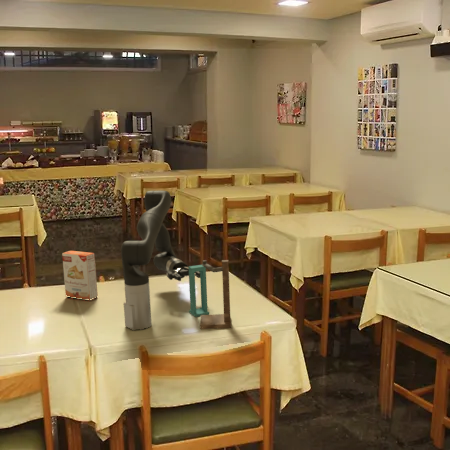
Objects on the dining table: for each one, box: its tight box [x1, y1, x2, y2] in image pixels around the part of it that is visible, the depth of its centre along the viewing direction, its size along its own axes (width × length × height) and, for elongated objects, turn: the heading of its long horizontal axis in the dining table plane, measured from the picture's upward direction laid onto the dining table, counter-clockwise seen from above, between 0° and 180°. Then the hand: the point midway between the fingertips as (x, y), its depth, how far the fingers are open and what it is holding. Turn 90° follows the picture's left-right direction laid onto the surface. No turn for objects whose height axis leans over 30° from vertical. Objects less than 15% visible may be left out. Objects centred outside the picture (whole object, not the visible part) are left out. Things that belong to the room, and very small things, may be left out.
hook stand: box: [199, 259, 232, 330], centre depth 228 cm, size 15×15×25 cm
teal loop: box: [188, 264, 210, 318], centre depth 241 cm, size 6×7×20 cm
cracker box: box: [61, 250, 99, 300], centre depth 267 cm, size 14×6×21 cm, turn 62°
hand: (189, 277), depth 249 cm, fingers open, 8 cm apart
